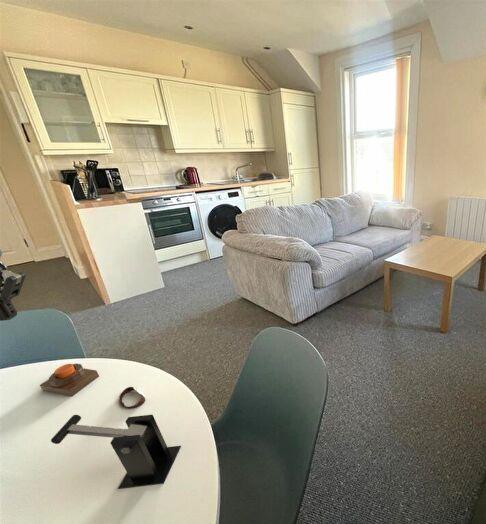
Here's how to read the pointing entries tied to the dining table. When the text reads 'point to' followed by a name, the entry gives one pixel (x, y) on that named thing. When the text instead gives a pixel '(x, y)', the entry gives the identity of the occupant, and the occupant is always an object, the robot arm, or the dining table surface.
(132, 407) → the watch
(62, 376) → the button
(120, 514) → the dining table surface
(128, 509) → the dining table surface
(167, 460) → the bracket
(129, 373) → the dining table surface
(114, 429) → the lever
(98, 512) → the dining table surface
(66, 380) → the button block
